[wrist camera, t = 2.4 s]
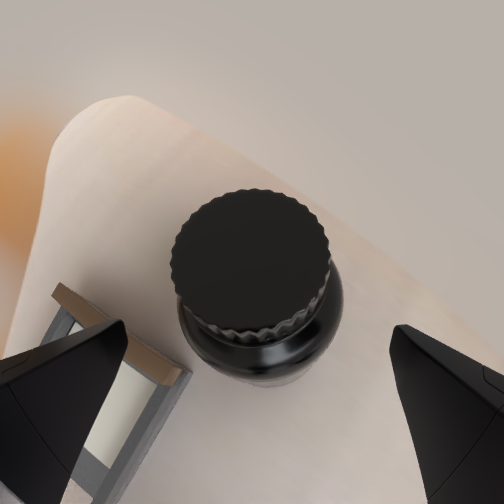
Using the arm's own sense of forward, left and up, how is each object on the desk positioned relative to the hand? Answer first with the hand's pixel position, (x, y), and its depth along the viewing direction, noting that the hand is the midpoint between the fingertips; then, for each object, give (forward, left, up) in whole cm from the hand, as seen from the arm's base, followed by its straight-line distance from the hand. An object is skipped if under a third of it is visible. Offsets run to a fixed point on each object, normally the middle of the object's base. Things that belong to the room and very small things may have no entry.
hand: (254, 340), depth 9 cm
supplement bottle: (+2, +1, -10) cm, 11 cm away
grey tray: (-9, +9, -10) cm, 17 cm away
